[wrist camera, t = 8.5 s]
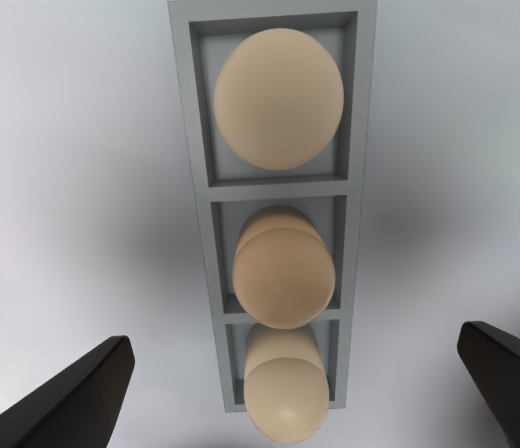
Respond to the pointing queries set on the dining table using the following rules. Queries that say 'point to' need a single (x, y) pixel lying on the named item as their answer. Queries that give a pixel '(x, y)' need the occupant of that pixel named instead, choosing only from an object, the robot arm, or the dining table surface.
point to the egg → (282, 268)
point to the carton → (277, 180)
